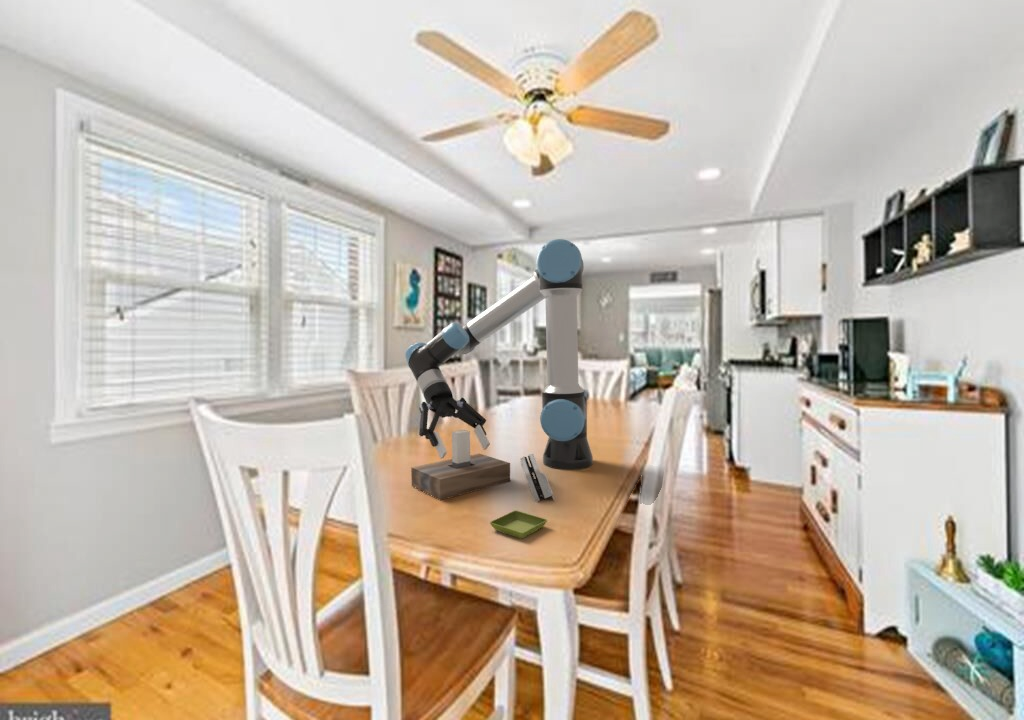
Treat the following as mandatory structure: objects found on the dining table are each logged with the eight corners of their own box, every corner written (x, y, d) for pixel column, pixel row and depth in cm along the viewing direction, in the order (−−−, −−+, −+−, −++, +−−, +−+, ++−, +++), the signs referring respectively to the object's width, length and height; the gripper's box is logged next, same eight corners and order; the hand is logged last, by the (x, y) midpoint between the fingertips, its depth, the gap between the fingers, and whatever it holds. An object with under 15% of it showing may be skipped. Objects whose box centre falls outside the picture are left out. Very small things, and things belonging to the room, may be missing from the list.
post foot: (411, 486, 125) (411, 467, 125) (479, 470, 140) (479, 453, 139) (440, 499, 115) (439, 479, 114) (510, 481, 129) (510, 463, 129)
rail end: (452, 480, 127) (451, 431, 126) (465, 477, 129) (464, 429, 129) (457, 482, 125) (457, 433, 124) (470, 479, 128) (469, 431, 127)
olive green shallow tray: (548, 529, 98) (548, 519, 98) (522, 543, 91) (522, 533, 91) (515, 519, 104) (515, 509, 103) (488, 532, 97) (488, 522, 97)
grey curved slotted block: (556, 501, 114) (541, 462, 113) (537, 508, 113) (522, 469, 113) (547, 479, 130) (534, 445, 130) (530, 486, 130) (518, 452, 129)
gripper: (466, 393, 146) (497, 451, 135) (390, 401, 130) (418, 467, 119) (476, 377, 141) (509, 435, 131) (399, 383, 125) (429, 450, 115)
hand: (466, 451), depth 125 cm, fingers open, 13 cm apart
